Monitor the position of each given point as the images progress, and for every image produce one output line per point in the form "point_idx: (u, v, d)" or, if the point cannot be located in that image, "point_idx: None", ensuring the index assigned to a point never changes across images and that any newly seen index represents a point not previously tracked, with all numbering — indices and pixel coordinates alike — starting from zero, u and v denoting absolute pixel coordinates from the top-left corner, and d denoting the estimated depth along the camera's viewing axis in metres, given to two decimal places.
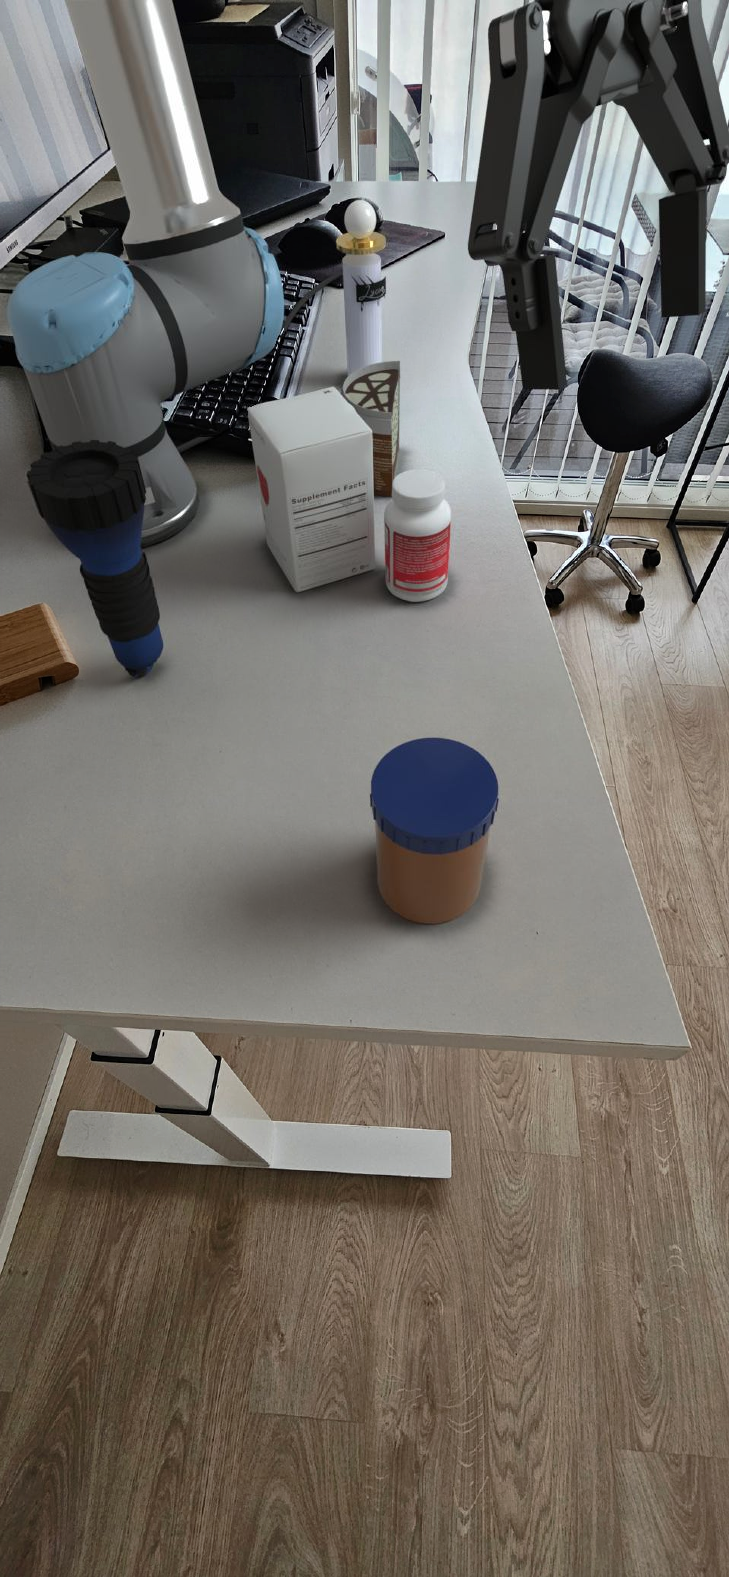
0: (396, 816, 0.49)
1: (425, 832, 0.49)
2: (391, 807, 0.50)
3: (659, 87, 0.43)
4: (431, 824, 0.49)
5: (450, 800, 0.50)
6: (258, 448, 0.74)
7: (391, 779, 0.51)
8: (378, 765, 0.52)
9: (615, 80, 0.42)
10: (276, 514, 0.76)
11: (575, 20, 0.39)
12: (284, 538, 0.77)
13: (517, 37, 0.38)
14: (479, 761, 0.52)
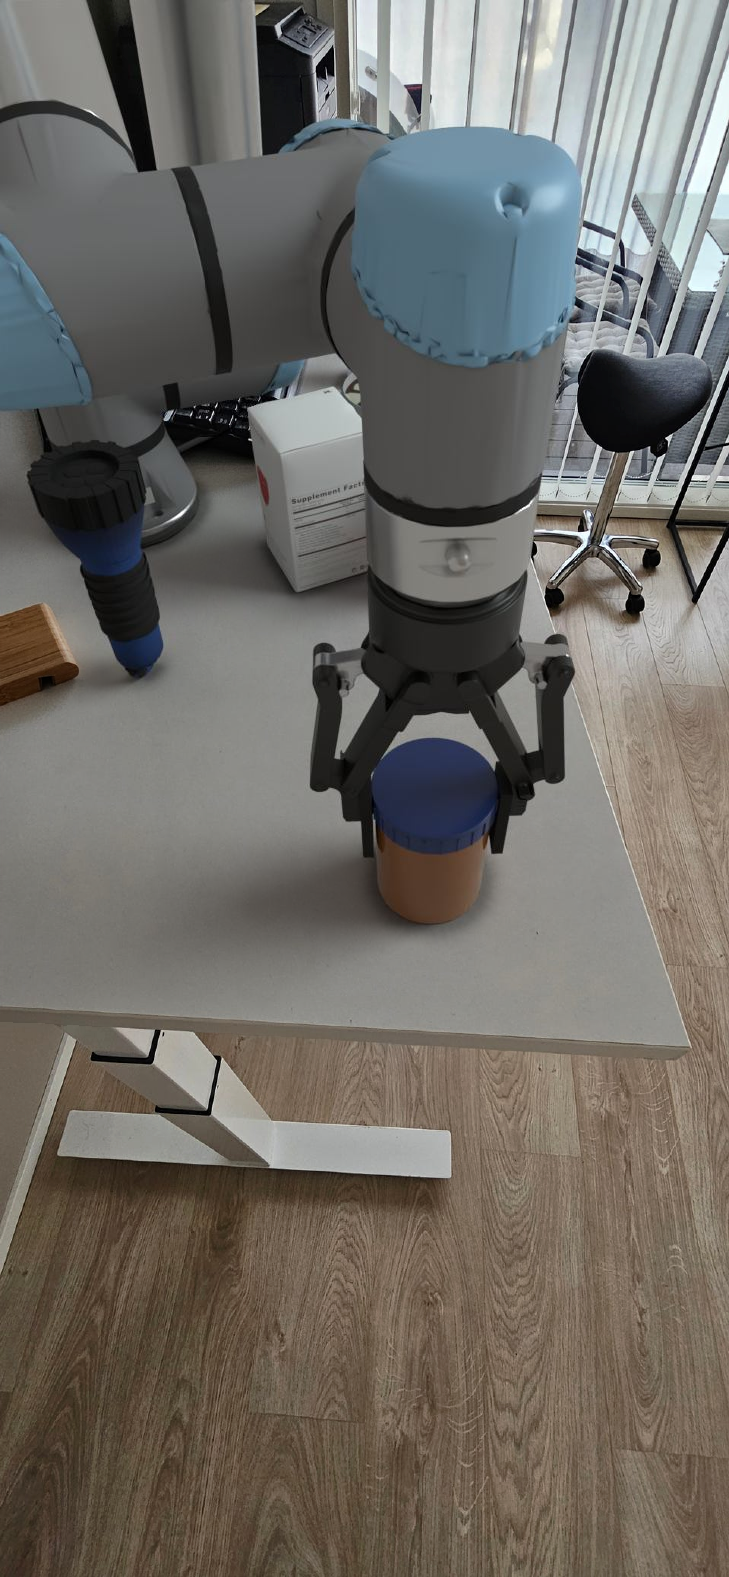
0: (396, 816, 0.49)
1: (425, 832, 0.49)
2: (391, 807, 0.50)
3: None
4: (431, 824, 0.49)
5: (450, 800, 0.50)
6: (258, 448, 0.74)
7: (391, 779, 0.51)
8: (378, 765, 0.52)
9: (433, 706, 0.44)
10: (276, 514, 0.76)
11: (381, 672, 0.42)
12: (284, 538, 0.77)
13: None
14: (479, 761, 0.52)
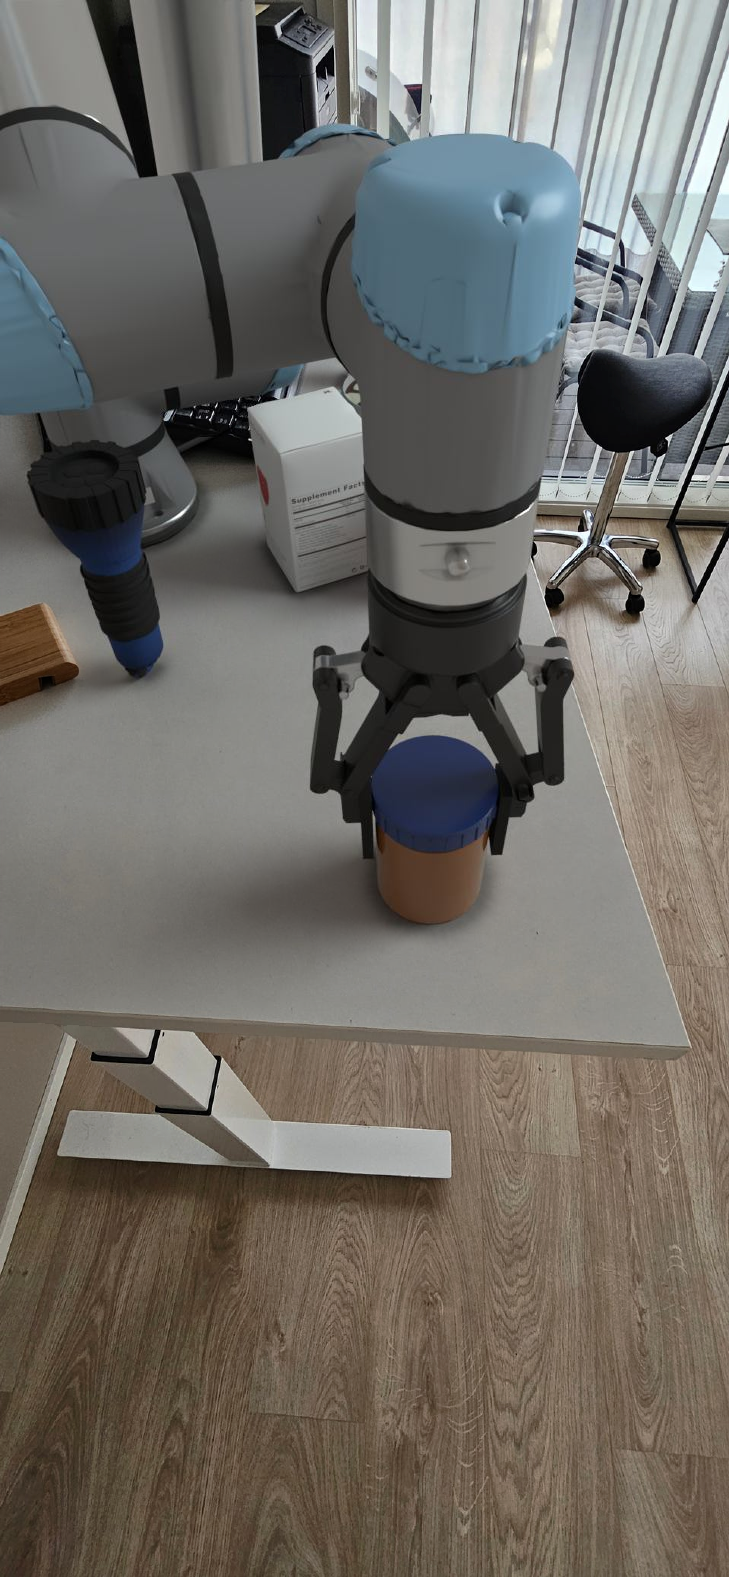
0: (477, 758, 0.52)
1: (452, 740, 0.53)
2: (480, 767, 0.51)
3: None
4: (445, 746, 0.52)
5: (422, 765, 0.52)
6: (258, 448, 0.74)
7: (476, 794, 0.50)
8: (488, 810, 0.49)
9: (433, 708, 0.44)
10: (276, 514, 0.76)
11: (381, 674, 0.42)
12: (284, 538, 0.77)
13: None
14: (382, 799, 0.50)
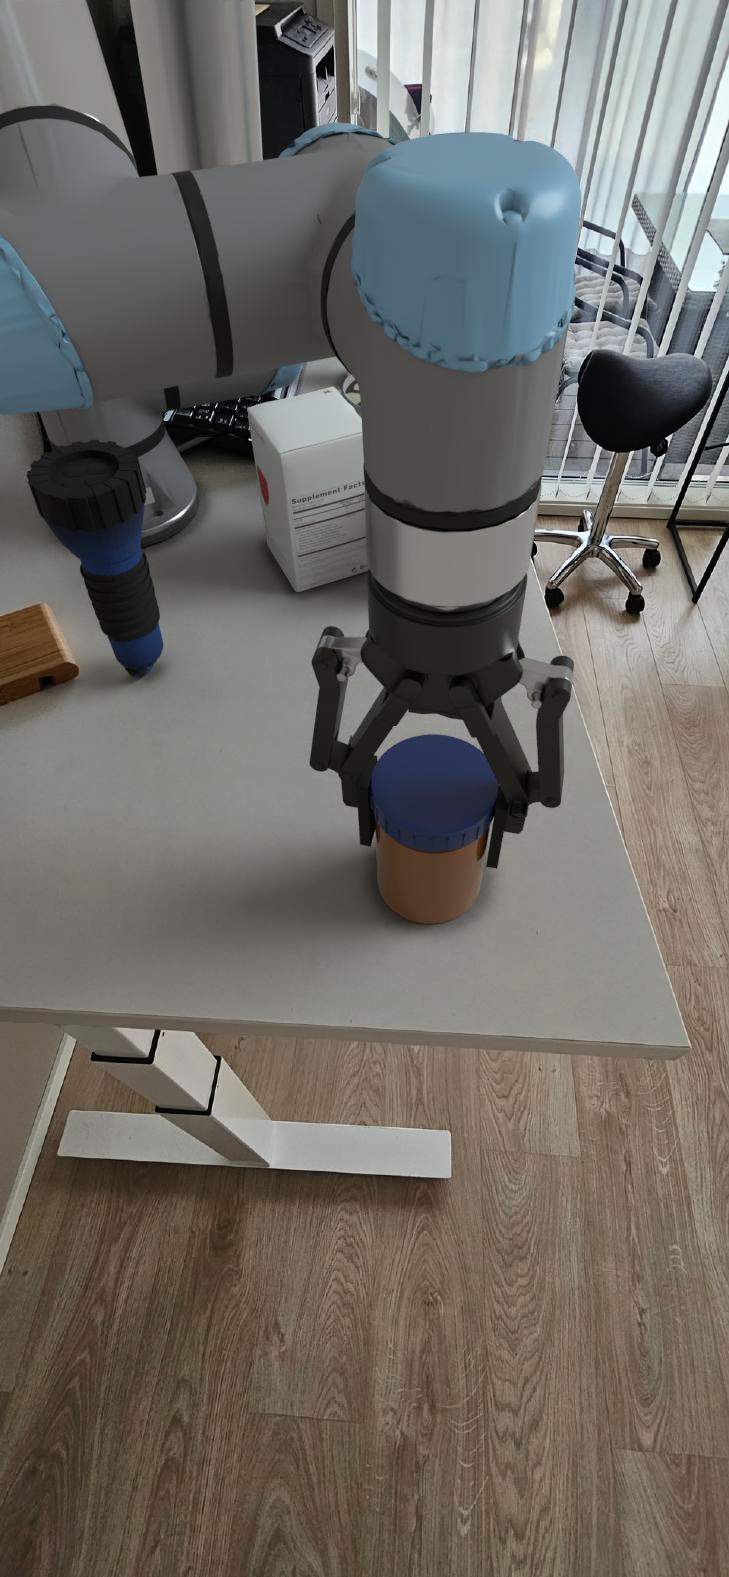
0: (383, 797, 0.50)
1: (401, 821, 0.49)
2: (383, 788, 0.50)
3: None
4: (411, 816, 0.49)
5: (441, 801, 0.50)
6: (258, 448, 0.74)
7: (398, 763, 0.52)
8: (393, 746, 0.52)
9: None
10: (276, 514, 0.76)
11: None
12: (284, 538, 0.77)
13: None
14: (489, 775, 0.51)
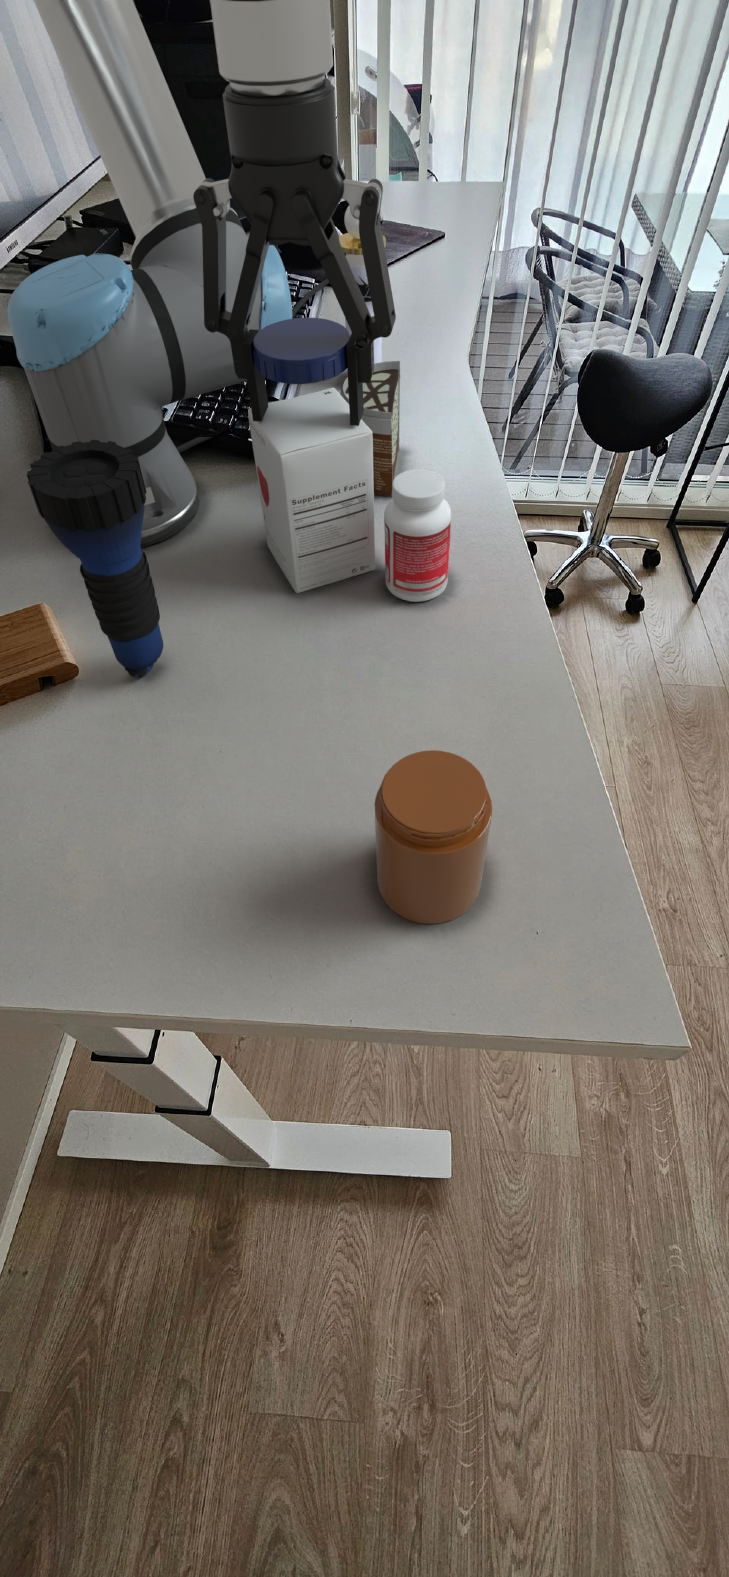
0: (262, 347, 0.66)
1: (275, 356, 0.65)
2: (262, 343, 0.66)
3: None
4: (282, 353, 0.65)
5: (305, 346, 0.66)
6: (258, 449, 0.74)
7: (274, 331, 0.68)
8: (271, 324, 0.68)
9: None
10: (276, 515, 0.76)
11: None
12: (284, 539, 0.77)
13: (380, 201, 0.59)
14: (343, 332, 0.67)
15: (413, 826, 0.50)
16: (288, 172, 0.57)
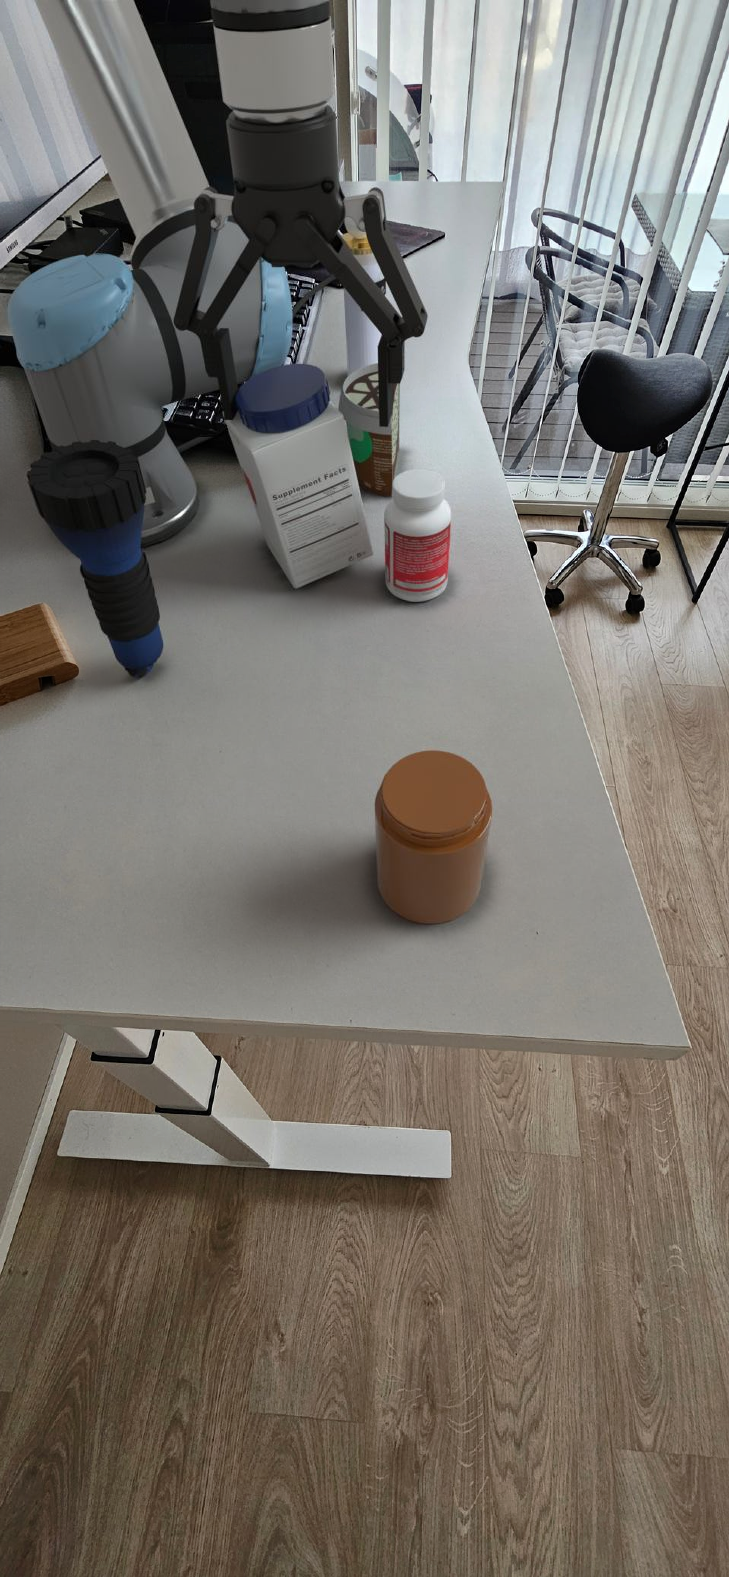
0: (243, 400, 0.70)
1: (253, 409, 0.68)
2: (244, 396, 0.70)
3: None
4: (260, 405, 0.69)
5: (282, 395, 0.69)
6: (237, 450, 0.74)
7: (256, 383, 0.71)
8: (255, 376, 0.72)
9: None
10: (263, 513, 0.76)
11: None
12: (274, 536, 0.76)
13: (383, 206, 0.59)
14: (319, 376, 0.70)
15: (413, 826, 0.50)
16: (290, 196, 0.58)
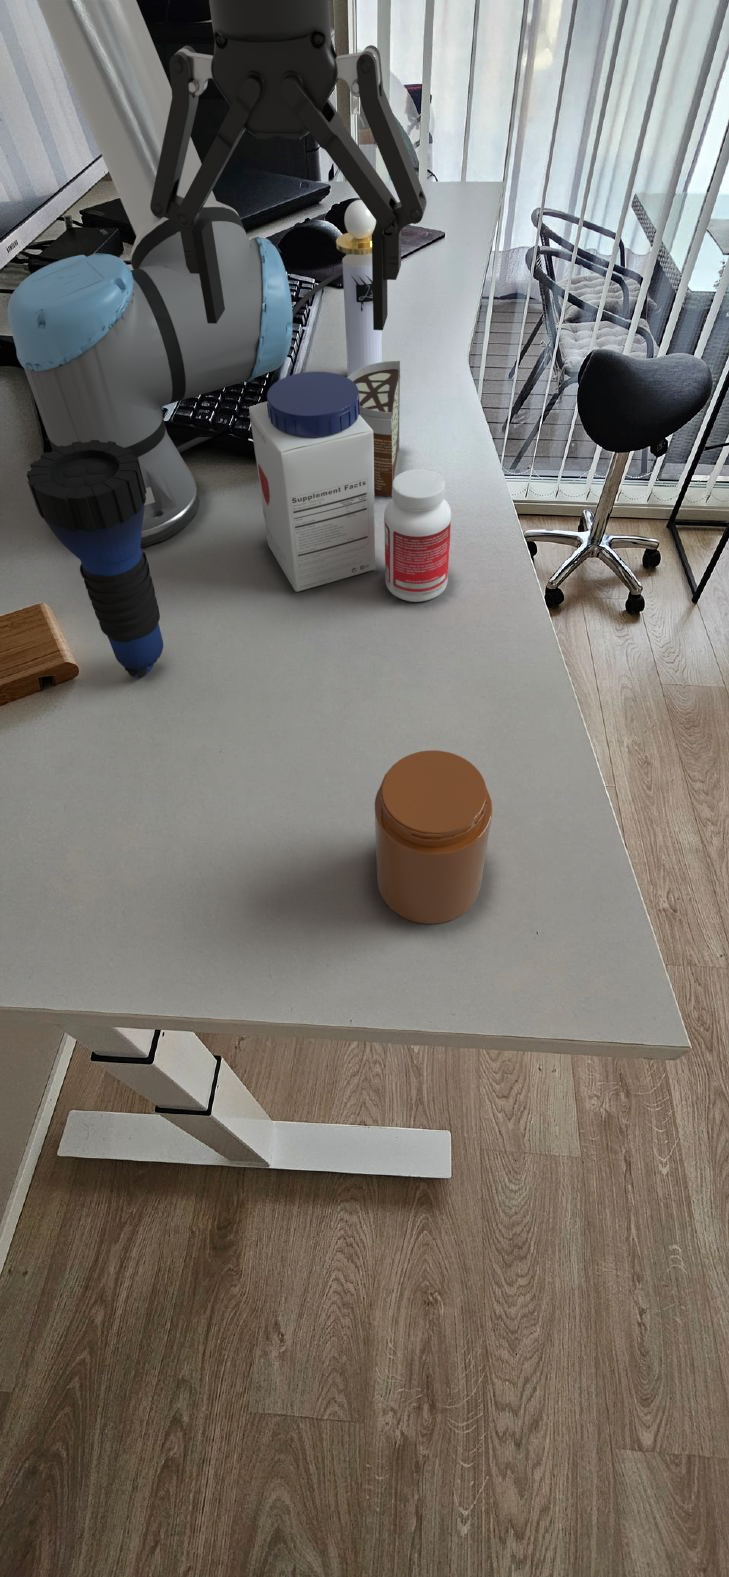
0: (275, 400, 0.70)
1: (285, 410, 0.69)
2: (275, 396, 0.70)
3: (244, 130, 0.57)
4: (292, 408, 0.69)
5: (315, 401, 0.70)
6: (259, 447, 0.74)
7: (288, 384, 0.72)
8: (286, 377, 0.72)
9: None
10: (276, 513, 0.76)
11: None
12: (284, 537, 0.77)
13: (379, 68, 0.53)
14: (352, 389, 0.71)
15: (413, 826, 0.50)
16: (277, 52, 0.52)
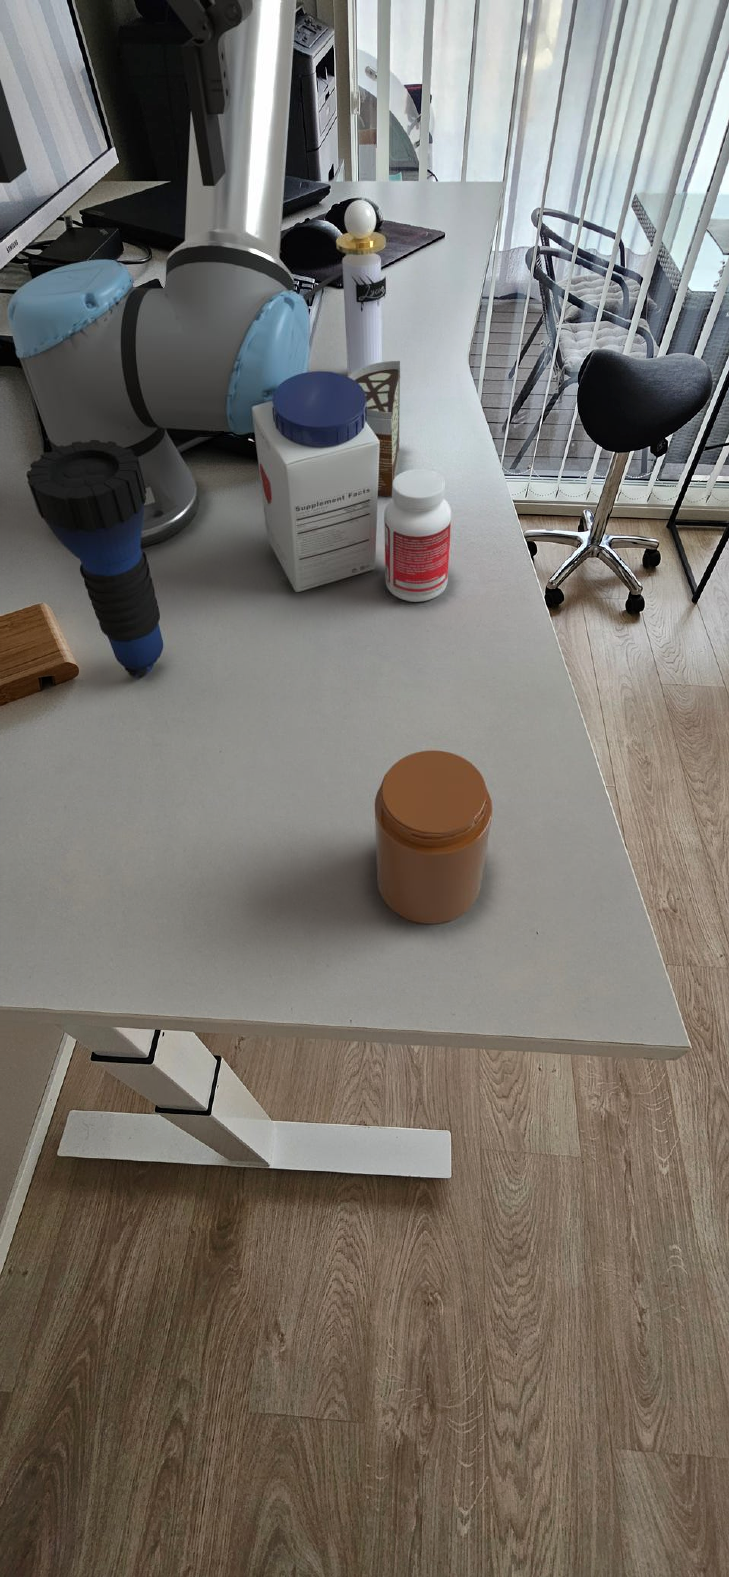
0: (280, 406, 0.68)
1: (292, 419, 0.67)
2: (281, 400, 0.69)
3: None
4: (299, 416, 0.68)
5: (322, 409, 0.68)
6: (262, 449, 0.73)
7: (294, 387, 0.70)
8: (291, 377, 0.71)
9: None
10: (278, 516, 0.75)
11: None
12: (286, 540, 0.76)
13: None
14: (360, 395, 0.69)
15: (413, 826, 0.50)
16: None
